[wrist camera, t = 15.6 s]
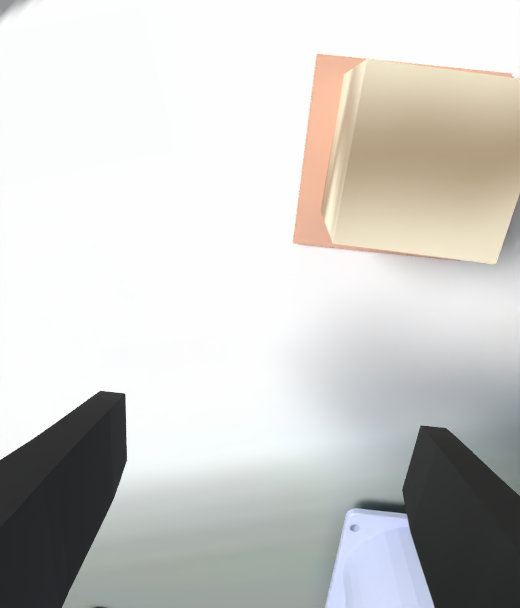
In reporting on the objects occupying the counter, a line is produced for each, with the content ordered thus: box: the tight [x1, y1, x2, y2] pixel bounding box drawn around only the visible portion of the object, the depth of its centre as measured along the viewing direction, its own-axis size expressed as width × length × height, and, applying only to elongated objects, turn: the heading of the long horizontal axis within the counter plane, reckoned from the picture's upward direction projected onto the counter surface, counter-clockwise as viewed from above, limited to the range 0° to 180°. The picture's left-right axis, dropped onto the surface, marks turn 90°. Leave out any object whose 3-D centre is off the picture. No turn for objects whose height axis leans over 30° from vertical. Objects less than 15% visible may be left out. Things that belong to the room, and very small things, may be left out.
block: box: [321, 59, 520, 265], centre depth 15 cm, size 5×5×5 cm
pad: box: [293, 54, 512, 261], centre depth 18 cm, size 7×7×1 cm
